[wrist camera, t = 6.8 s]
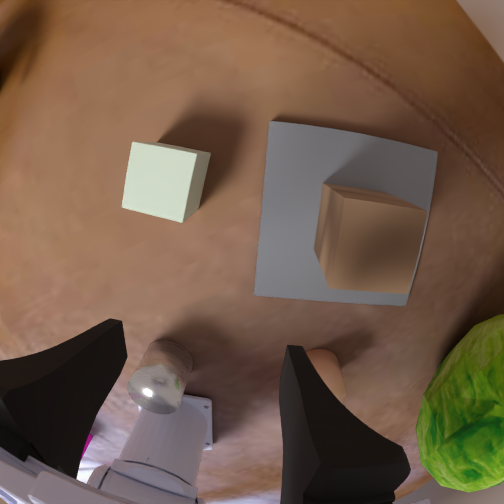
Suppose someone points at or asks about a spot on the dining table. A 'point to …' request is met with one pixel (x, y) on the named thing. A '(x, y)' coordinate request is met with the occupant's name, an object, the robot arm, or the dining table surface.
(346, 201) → the walnut block
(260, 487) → the dining table surface
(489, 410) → the lettuce
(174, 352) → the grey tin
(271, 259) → the slate coaster
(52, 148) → the dining table surface
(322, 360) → the peach rounded cylinder
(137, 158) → the pale green block
